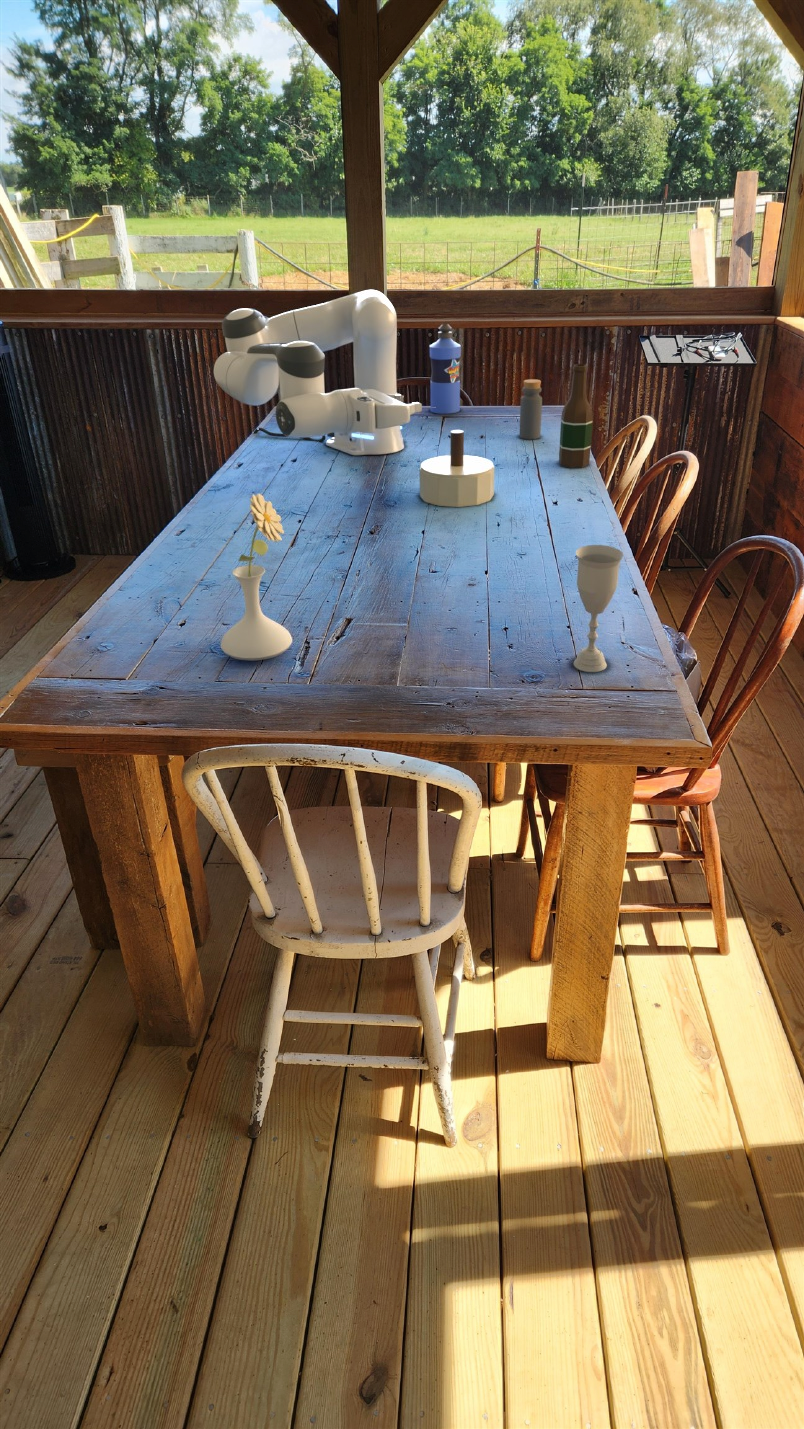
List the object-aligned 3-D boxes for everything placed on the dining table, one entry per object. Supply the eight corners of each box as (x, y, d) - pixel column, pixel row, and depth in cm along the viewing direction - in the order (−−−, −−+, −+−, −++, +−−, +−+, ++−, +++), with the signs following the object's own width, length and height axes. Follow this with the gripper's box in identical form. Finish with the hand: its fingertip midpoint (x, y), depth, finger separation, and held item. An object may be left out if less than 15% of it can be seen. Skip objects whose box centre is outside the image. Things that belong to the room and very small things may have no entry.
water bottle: (466, 409, 297) (467, 323, 285) (446, 414, 292) (446, 327, 279) (443, 405, 303) (443, 320, 290) (423, 410, 297) (423, 324, 285)
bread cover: (412, 504, 218) (411, 438, 210) (431, 482, 232) (430, 420, 224) (484, 508, 214) (485, 442, 206) (498, 487, 227) (500, 424, 220)
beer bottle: (591, 460, 245) (599, 362, 233) (586, 469, 238) (594, 368, 226) (561, 458, 247) (567, 361, 235) (555, 467, 241) (561, 367, 229)
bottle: (540, 434, 269) (542, 378, 262) (540, 439, 264) (543, 382, 257) (519, 434, 270) (521, 378, 262) (519, 439, 265) (521, 382, 257)
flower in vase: (262, 673, 148) (245, 516, 135) (206, 657, 153) (185, 504, 140) (313, 641, 157) (301, 491, 144) (259, 627, 162) (243, 481, 150)
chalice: (562, 655, 151) (570, 546, 142) (605, 652, 151) (615, 543, 142) (574, 676, 144) (582, 564, 135) (618, 674, 145) (629, 561, 136)
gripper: (335, 415, 215) (392, 407, 220) (371, 434, 199) (431, 426, 203) (334, 385, 212) (391, 379, 216) (370, 403, 195) (431, 395, 200)
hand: (411, 402), depth 210 cm, fingers open, 8 cm apart
